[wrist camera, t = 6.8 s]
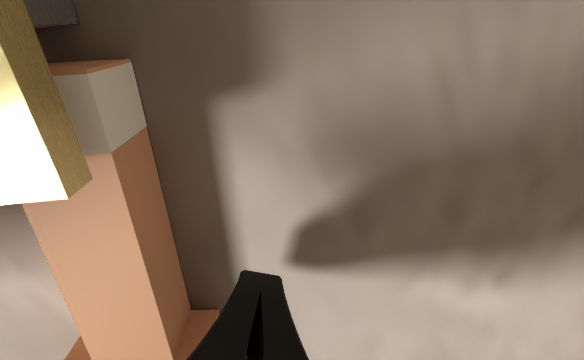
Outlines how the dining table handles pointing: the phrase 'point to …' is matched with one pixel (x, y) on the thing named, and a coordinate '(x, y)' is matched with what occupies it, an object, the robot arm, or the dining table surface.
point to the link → (116, 228)
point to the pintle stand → (35, 109)
